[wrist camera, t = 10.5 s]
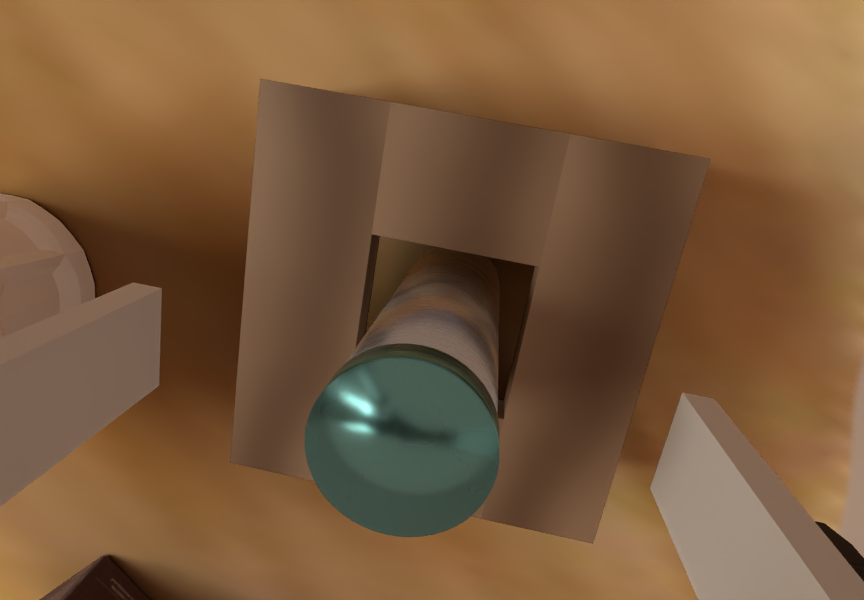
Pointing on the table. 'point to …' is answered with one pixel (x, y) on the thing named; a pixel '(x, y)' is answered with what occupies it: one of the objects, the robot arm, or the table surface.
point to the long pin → (416, 404)
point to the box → (97, 584)
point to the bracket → (472, 233)
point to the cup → (38, 266)
